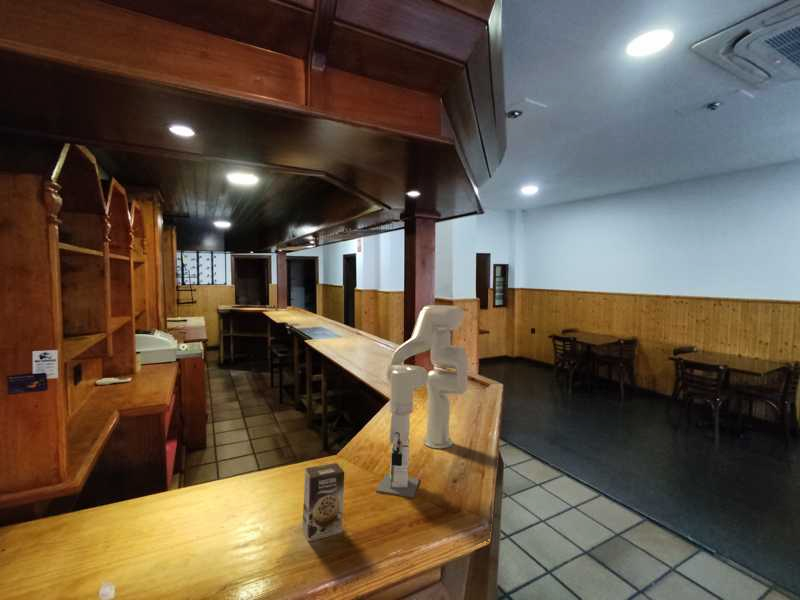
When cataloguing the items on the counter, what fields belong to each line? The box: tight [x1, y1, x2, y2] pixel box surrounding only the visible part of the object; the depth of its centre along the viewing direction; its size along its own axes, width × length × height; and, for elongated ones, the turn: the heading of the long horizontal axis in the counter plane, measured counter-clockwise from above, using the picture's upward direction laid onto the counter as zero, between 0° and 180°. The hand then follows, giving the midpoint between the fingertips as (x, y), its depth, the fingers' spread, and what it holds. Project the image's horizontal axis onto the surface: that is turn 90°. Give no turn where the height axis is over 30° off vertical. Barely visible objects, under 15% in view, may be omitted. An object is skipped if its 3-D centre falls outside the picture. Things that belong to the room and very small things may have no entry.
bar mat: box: [375, 473, 421, 498], centre depth 124 cm, size 12×12×1 cm
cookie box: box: [302, 462, 345, 542], centre depth 99 cm, size 9×6×16 cm
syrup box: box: [389, 437, 410, 488], centre depth 124 cm, size 6×6×14 cm
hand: (399, 458), depth 124 cm, fingers open, 9 cm apart
